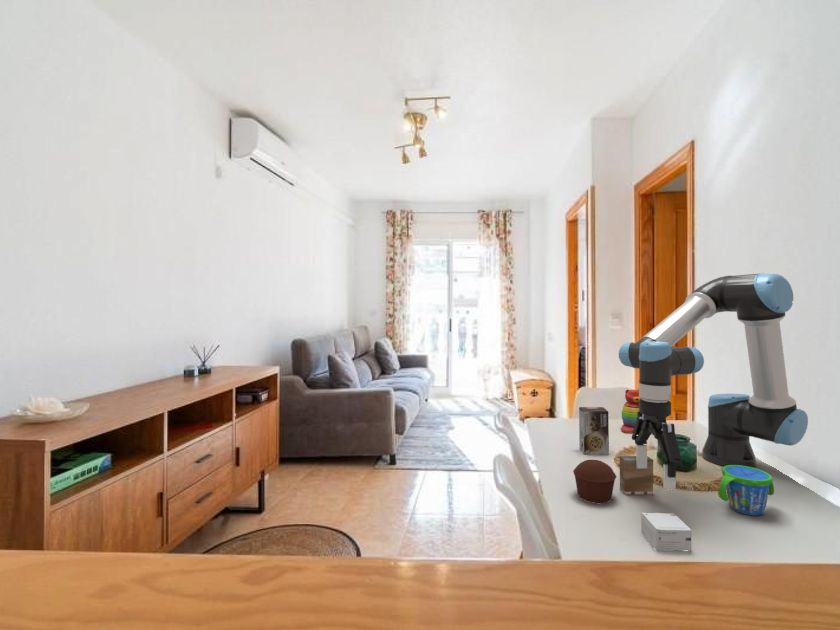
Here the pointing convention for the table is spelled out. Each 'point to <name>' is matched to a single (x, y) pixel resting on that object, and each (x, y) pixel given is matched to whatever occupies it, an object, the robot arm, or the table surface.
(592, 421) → the coffee box
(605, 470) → the muffin
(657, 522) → the small box
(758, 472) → the snack cup
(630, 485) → the brown thick block
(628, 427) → the stacking bear
